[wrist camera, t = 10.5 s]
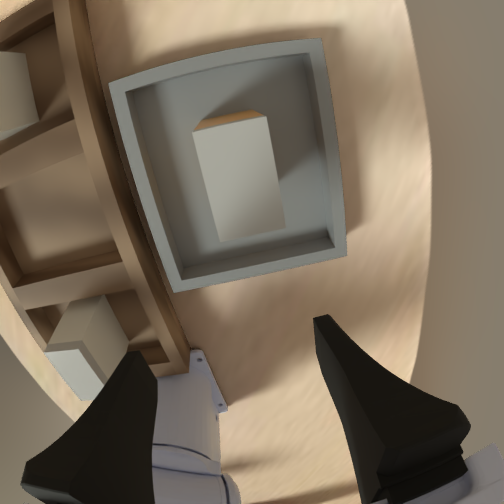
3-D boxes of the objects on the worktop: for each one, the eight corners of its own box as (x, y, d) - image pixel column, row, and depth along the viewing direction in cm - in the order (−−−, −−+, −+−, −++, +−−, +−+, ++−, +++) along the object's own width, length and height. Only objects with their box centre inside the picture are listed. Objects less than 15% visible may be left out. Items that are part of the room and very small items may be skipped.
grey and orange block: (267, 188, 20) (286, 228, 14) (219, 199, 20) (220, 242, 14) (252, 109, 17) (266, 116, 12) (200, 120, 17) (192, 132, 12)
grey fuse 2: (129, 341, 24) (114, 399, 19) (99, 345, 24) (80, 400, 19) (103, 292, 22) (78, 348, 17) (71, 298, 22) (43, 352, 17)
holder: (190, 348, 26) (189, 372, 24) (75, 362, 26) (67, 384, 24) (84, -6, 13) (66, -17, 10) (-42, 73, 13) (-65, 76, 10)
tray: (336, 241, 23) (347, 255, 21) (177, 275, 23) (173, 293, 21) (310, 43, 16) (320, 37, 14) (120, 83, 16) (108, 83, 14)
